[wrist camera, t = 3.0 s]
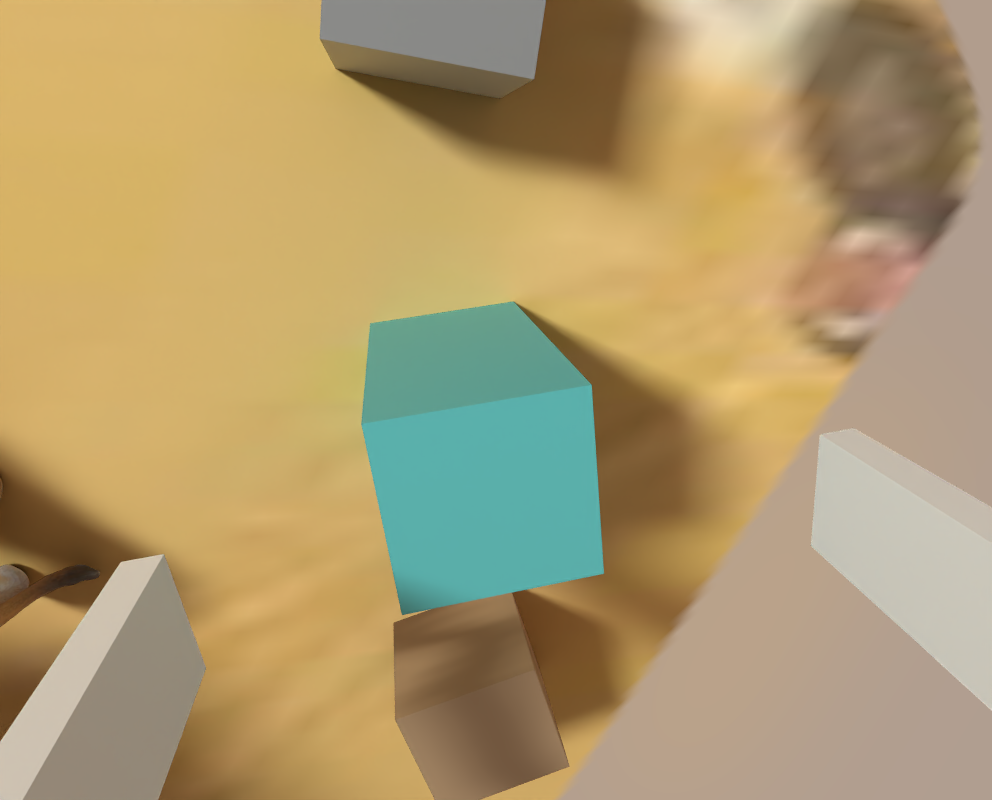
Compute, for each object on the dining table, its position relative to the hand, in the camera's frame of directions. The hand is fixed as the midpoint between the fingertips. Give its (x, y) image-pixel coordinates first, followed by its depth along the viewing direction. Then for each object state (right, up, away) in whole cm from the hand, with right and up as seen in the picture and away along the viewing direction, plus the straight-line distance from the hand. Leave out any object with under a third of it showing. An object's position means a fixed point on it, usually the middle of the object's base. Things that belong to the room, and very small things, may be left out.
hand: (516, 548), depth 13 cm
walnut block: (-2, -8, +14) cm, 16 cm away
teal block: (-2, +4, +10) cm, 11 cm away
